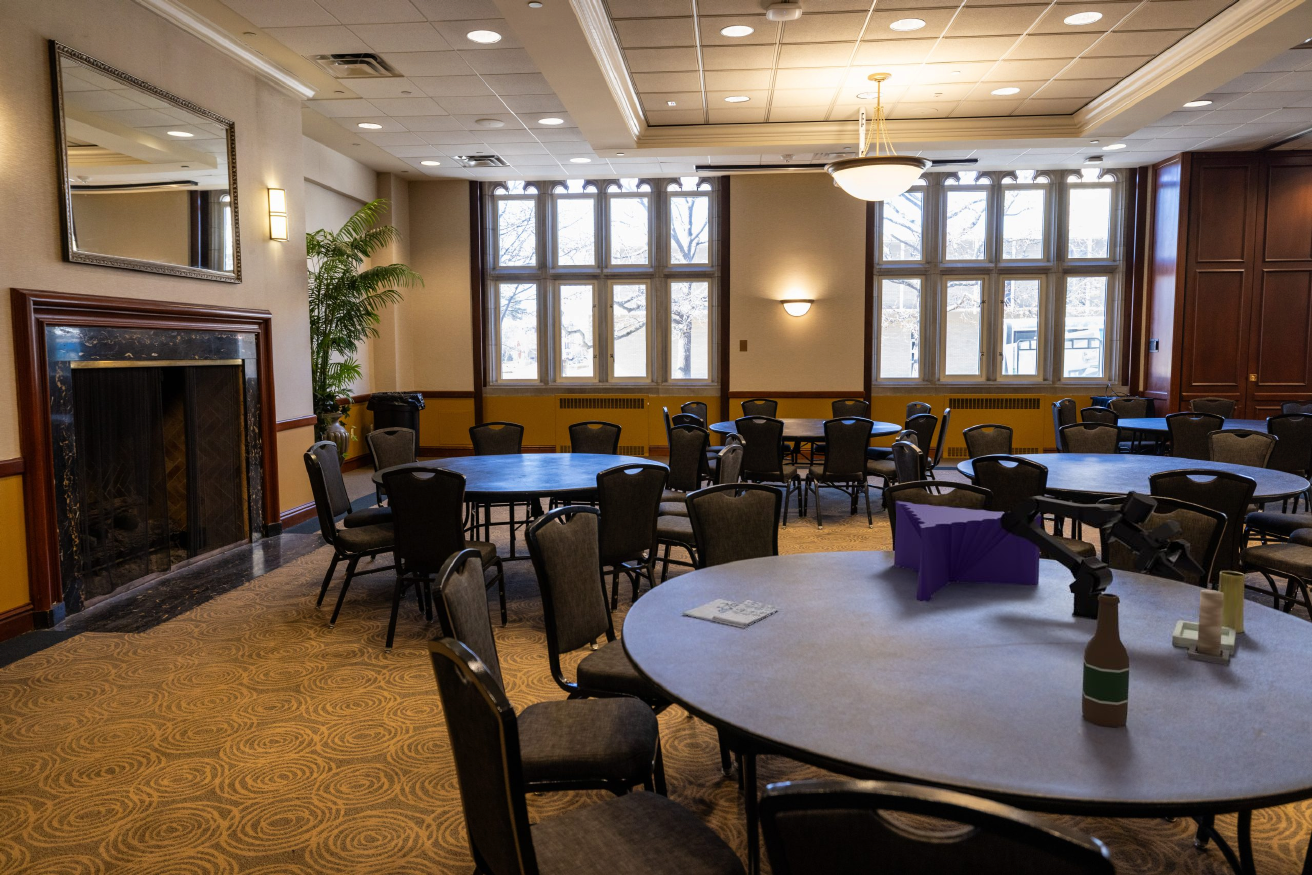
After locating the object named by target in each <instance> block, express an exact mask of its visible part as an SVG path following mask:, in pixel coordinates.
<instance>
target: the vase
mask: <svg viewBox="0 0 1312 875" xmlns="http://www.w3.org/2000/svg"><path fill="white" fill-rule="evenodd" d="M1245 578H1246V574H1244V573H1242V572H1239V571H1232V570H1221V571H1220V572H1219V580H1218V590H1217V591H1220V592H1222V593H1224V595H1223V614H1222V627H1229V628H1235V629H1236V634H1241V633H1243V632H1245V629H1244V628H1245V627H1244V619H1245V618H1244V617H1245V616H1244V603H1245V595H1244V594H1245Z"/></svg>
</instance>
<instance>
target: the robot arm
mask: <svg viewBox="0 0 1312 875" xmlns="http://www.w3.org/2000/svg"><path fill="white" fill-rule="evenodd" d="M1157 505H1158V501H1157V500H1156V499H1154V498H1153V497H1151V495H1146V494H1144V493H1141V492H1137V491H1136V490H1129V491H1128V492H1127V494H1126V496H1125V499H1124V500H1123V502H1122V504H1121V505H1120V506H1119V507H1115V506H1114V505H1113V504H1111V503H1110V504H1108V503H1105V504H1104V503H1095V504H1093V503H1092V504H1091V503H1089V504H1082V503H1076V502H1071V501H1066V500H1060V499H1054V498H1049V497H1044V496H1042V495H1036V496H1030V497H1028V498H1027V499H1026V500H1025V501H1024V502H1022V503H1021V504H1019V505H1016V507H1014V508H1012V509H1011V510H1009V511H1005V513H1003V514H1002V516H1001V519H1000V523H1001V527H1002V528H1003V529H1004V530H1005V531H1007V532H1009V533H1011V534H1013V535H1015V536H1018V537H1022V538H1025V539H1027V540H1029V541H1030V542H1032V543H1033V544H1034V545H1036V546H1037V547H1039V548H1040V550H1042V551H1043V552H1044V553H1045V554H1047V555H1048V556H1050V557H1051V558H1053V560H1055V561H1057V563H1060V564H1061V565H1062V566H1063V567H1065V568H1067V570H1069V572H1070V573H1071V575H1072V578H1073V579H1074V580H1073V582H1071V583H1070V584H1069V585H1068V587H1069V590H1070V591H1069V592H1070V593H1071V594H1073V610H1072V613H1071V616H1073V617H1077V618H1085V619H1089V620H1097V618H1098V609H1099V600H1098V596H1099V594H1103V593H1106V591H1107V589H1108V587H1109V586H1110V585H1111V584H1112V583H1113V581H1114V579H1113V578H1114V576H1113V571H1112V570H1111V569H1110V568H1109V567H1108V566H1109V564H1108V563H1104V561H1103V562H1102V561H1101V560H1100V559H1099V558H1098V557H1097V556H1095V555H1094V556H1090V557H1086V558H1085V557H1083V556H1081V555H1080V554H1079V553H1077V552H1075V551H1074V550H1073V549H1072V548H1070V547H1068V546H1067V545H1065V544H1064V543H1062V542H1061V541H1060V540H1058V539H1057V538H1055V537H1054V536H1053V535H1051V534H1050V533H1049V532H1047V531H1045V530H1044V529H1042V528H1041V526H1040V527H1039V526H1038V524H1037V522H1036V520H1035V518H1036V517H1037V516H1038V515H1041V513H1044V514H1049V515H1053V516H1058V517H1063V518H1069V519H1073V520H1076V521H1078V522H1080V523H1081V524H1083V525H1085V526H1088V527H1090V528H1093V529H1103V528H1108V527H1110V529H1109V530H1108V531H1104V532H1103V534H1104V540H1105V543H1111V542H1114V541H1116V540H1117V541H1118V542H1120V543H1121V544H1123V545H1124V546H1126V547H1127V548H1129V550H1128V551H1129V553H1131V554H1135V553H1136V554H1137V556H1136V557H1135V559H1134V560H1133V563H1132V564H1133V569H1134V570H1135V571H1137V572H1138V573H1140V574H1144V573H1145V574H1146V575H1151V576H1157V577H1162V578H1167V579H1172V580H1175V581H1180V582H1185V581H1186V580H1187V577H1186V576H1185V575H1184V574H1183V573H1182V572H1181V571H1180V570H1183V571H1186V572H1188V573H1192V574H1195V575H1198V576H1204V575H1205V574H1206V573H1205V570H1204V569H1203V568H1202V567H1201V566H1200V565H1199V564H1198V562H1197V561H1196V560H1195V559H1194V557H1193V556H1192V555H1191V552H1190V550H1191V543H1190V542H1188V541H1187V540H1186V539H1184V538H1181V539H1176V540H1172V541H1171V540H1169V539H1171V538H1172V537H1174V536H1175V535H1177V534H1180V533H1182V531H1183V530H1182V529H1181V528H1180V526H1181V525H1180V524H1181V523H1179V522H1177V521H1176V520H1174V519H1172V520H1171V519H1168V520H1165V521H1164V522H1162V523H1161V524H1160V525H1158V526H1157V527H1155V528H1154V529H1153V530H1151V529H1150V530H1145V529H1144V528H1143V527H1140V526H1139V525H1140V524H1146V523H1147V522H1148V521H1149V518H1150V517H1151V515H1152V513H1153V512H1154V511H1155V509H1156V507H1157ZM1178 569H1179V570H1178Z"/></svg>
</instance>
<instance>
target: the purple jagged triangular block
mask: <svg viewBox="0 0 1312 875" xmlns="http://www.w3.org/2000/svg"><path fill="white" fill-rule="evenodd" d="M1005 512H1006V511H1005ZM1005 512H1004V511H990V510H985V509H972V508H970V509H969V508H965V507H951V506H945V505H944V506H943V505H941V506H940V505H932V504H931V505H930V504H916V503H912V502H909V501H908V502H907V501H900V500H896V501H895V513H896V516H895V517H896V518H895V519H896V520H895V536H894V537H895V538H894V556H893V558H894V560H893V561H894V562H893V565H894V566H895V565H896V566H895V567H898V566H899V568H902V567H904V568H903V569H907V568H909V569H908V570H911V569H913V570H912V571H914V570H915V572H917V571H918V581H917V591H916V601H919V602H930V601H931V600H932V599H933V598H932V597H933V595H935V594H936V593H937V591H938V592H939V591H940V590H942V589H943V588H945V587H946V586H948V585H949V584H952V583H963V584H964V583H970V584H998V585H999V584H1005V585H1006V584H1007V585H1012V584H1013V585H1022V586H1037V585H1039V582H1040V581H1039V580H1040V552H1041V551H1040V550H1041V549H1040V548H1039V547H1037V546H1036V545H1034V544H1033V543H1032V542H1030V541H1029V540H1027V539H1025V538H1022V537H1018V536H1015V535H1013V534H1011V533H1009V532H1007V531H1005V530H1004V529H1003V528H1002V527H1001V523H1000V519H1001V516H1002V514H1003V513H1005ZM1035 520H1036V522H1037V524H1038V526H1039V527H1040V528H1041V527H1042V526H1041V524H1042V514H1039V515H1038V516H1037V517H1036V518H1035ZM934 593H935V594H934Z"/></svg>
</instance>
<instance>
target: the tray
mask: <svg viewBox="0 0 1312 875" xmlns="http://www.w3.org/2000/svg"><path fill="white" fill-rule="evenodd" d="M1198 628H1199V622H1194V621H1193V622H1192V621H1187V620H1181V619H1178V620H1177V622H1176V625H1175V628H1174V630H1173V633H1172V639H1171V640H1172V641H1171V645H1172V646H1176V647H1181V648H1186V649H1187V648H1188V649H1189V647H1190V644H1194V645H1198ZM1236 635H1237V633H1236V629H1235V628H1229V627H1222V633H1221V649H1226V650H1230V652H1229V656H1231V655H1232V656H1233V655H1234V651H1235V644H1236Z"/></svg>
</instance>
